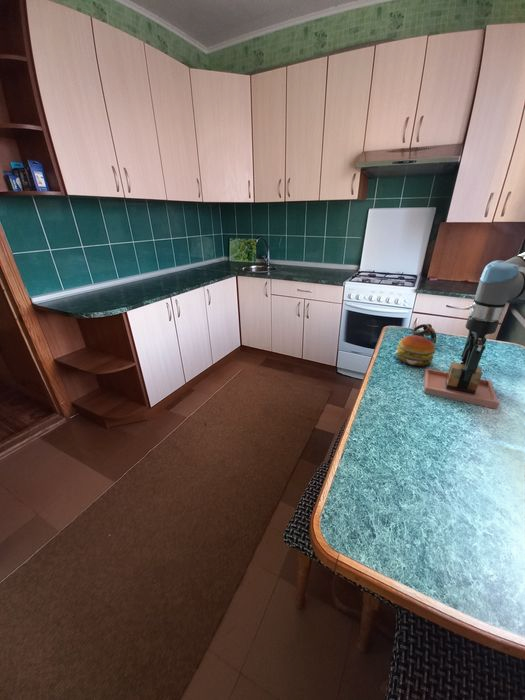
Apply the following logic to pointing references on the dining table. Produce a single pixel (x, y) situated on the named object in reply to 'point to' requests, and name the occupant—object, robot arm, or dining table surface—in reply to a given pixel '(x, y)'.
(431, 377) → the tray
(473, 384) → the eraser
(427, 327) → the pottery mug
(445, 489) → the dining table surface
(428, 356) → the burger
